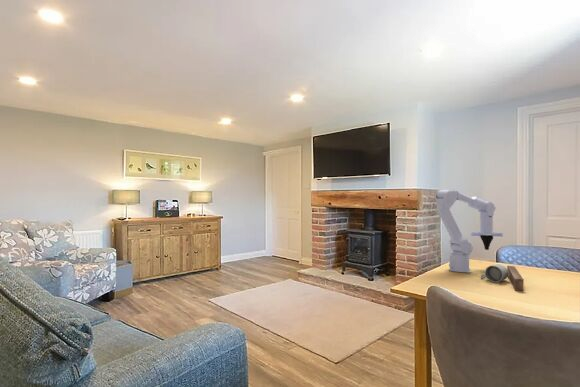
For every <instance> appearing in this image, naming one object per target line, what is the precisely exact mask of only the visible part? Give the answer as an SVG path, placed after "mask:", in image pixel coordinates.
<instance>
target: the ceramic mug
mask: <svg viewBox="0 0 580 387" xmlns="http://www.w3.org/2000/svg"><path fill="white" fill-rule="evenodd" d="M508 274H509V273H508V270H507V267H506V266H504V265H501V264H493V265H489V266H486V268H485V270H484V273H483V274H480V277H481V278H482V279H486V280H488V281H489V282H492V283H499V282H503V281H505V280H506V279H507V278H508Z"/></svg>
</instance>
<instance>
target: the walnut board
mask: <svg viewBox="0 0 580 387" xmlns="http://www.w3.org/2000/svg"><path fill="white" fill-rule="evenodd" d="M506 268H507V270H508V273H509V274H508V277H507V278H508V280H509V282H510V284H511V285H512V287H513V289H514V291H517V292H524V290H525V289H524V288H525V287H524V281H525V280H524V278H523V277H522V275H521V274H520V272H519V271H518V269H517V267H516V266H515V265H514V266H513V265H507V267H506Z"/></svg>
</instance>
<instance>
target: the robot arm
mask: <svg viewBox="0 0 580 387" xmlns="http://www.w3.org/2000/svg"><path fill="white" fill-rule="evenodd" d="M434 199H435V202H436V210H437V213H438V214H439V217H440V218H441V221H442V223H443V225H444V227H445V229H446V231H447V233H448V235H449V236H450V239H449V242H448V243H449V244H450V249H451V251H452V252H450V253H449V263H448V267H449V272H458V273H459V272H460V273H466V274H467V273H469V274H470V273H471V268H470V255H471V253H472V251H473V248H474V247H473V245H472V243H471V242H469V240H468V238H466V237H465V236H463V234H462V232H461V230H460V227H458V225H457V222H456V219H455V218H454V216H453V214H452V212H451V210H450V209H451V208H452V207H453V205H454V204H455V203H456V201H460V202H463V203H466V204H467V205H468V207H469V208H473V209H474V210H478V212H479V214H480V215H479V216H480V217H479V221H480V224H479V225H480V227H479V228H480V231H471V232H470V236H472V237H475V236H476V237H479V238H480V239H481V241H482V243H483V246H484V247H483V248H484V250H485V251H488V250H489V249H490V245H491V243H492V241H493V239H494V237H501V238H502V237H503V236H504V235H503V232H497V231H495V232H494V227H493V226H494V224H493V223H494V221H493V220H494V215H495V214H494V213H495V211H496V210H497V209H496V206H495V204H494V203H493V202H491V201H487V200H486V199H481V198H480V197H479V196H471V197H470V196H468V195H466V194H464V193H461V192H460V191H459V190H454V189H439V190H437V191H436V193H435V195H434Z"/></svg>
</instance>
